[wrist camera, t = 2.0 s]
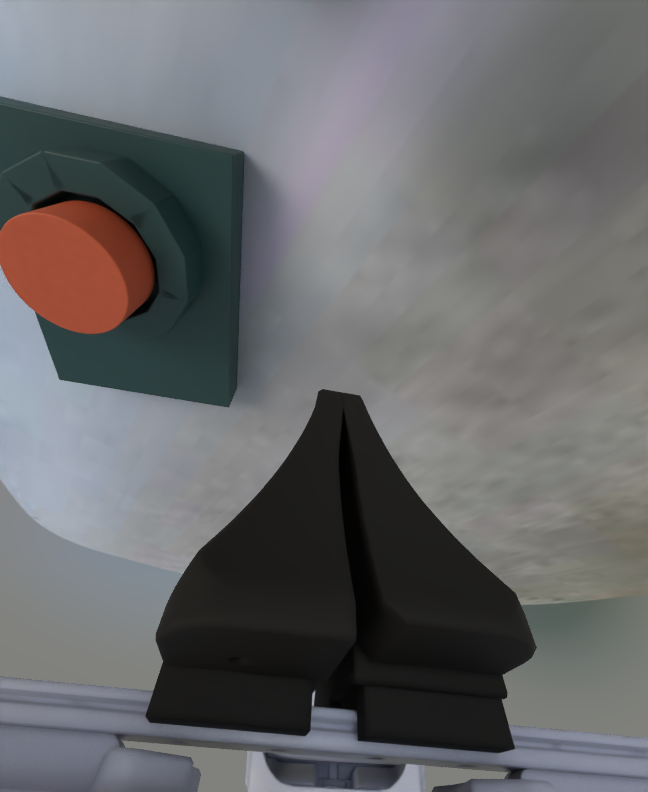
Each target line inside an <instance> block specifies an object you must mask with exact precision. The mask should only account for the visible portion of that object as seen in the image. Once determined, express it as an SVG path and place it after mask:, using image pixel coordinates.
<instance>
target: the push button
mask: <svg viewBox="0 0 648 792" xmlns="http://www.w3.org/2000/svg"><path fill="white" fill-rule="evenodd" d="M0 265H1V268H2V270H3V272H4V274H5V276H6V278H7V280H8V282H9V283H10V285H11V286H12V288H13V289H14V290H15V292H16V293H17V294H18V295H19V296H20V298H21V299H22V300H23V301H24V302H25V303H26V304H27V305H28V306H29V307H31V308H32V309H33V310H34V311H35V312H37V313H38V314H39V315H41V316H42V317H44V318H45V319H47V320H48V321H50V322H52V323H54V324H56V325H58V326H60V327H62V328H65V329H67V330H70V331H74V332H78V333H84V334H99V333H105V332H108V331H110V330H113V329H114V328H116V327H117V326H119V325H120V324H121V323H122V322H123V321H124V320H125V319H126V318H128V317H129V316H130V315H131V314H132V313H133V312H134V311H135V310H136V309H137V308H139V307H140V306H141V305H142V304H143V303H144V302H145V301H146V300H147V299H148V298H149V296H150V295H151V292H152V290H153V286H154V280H155V274H154V266H153V262H152V259H151V256H150V254H149V251H148V249H147V247H146V246H145V244H144V242H143V241H142V239H141V238H140V236H139V235H138V234H137V233H136V231H135V230H134V229H133V228H132V227H131V226H130V225H129V224H128V223H127V222H126V221H125V220H123V219H122V218H121V217H120V216H118V215H117V214H115V213H114V212H112V211H110V210H108V209H107V208H105V207H103V206H100V205H98V204H95V203H91V202H88V201H81V200H71V201H65V202H62V203H58V204H55V205H51V206H47V207H44V208H40V209H37V210H33V211H29V212H26V213H22V214H19V215H17V216H14V217H13V218H11V219H10V220H8V221H7V222H6V224H5V225H4V226H3V228H2V229H1V231H0Z"/></svg>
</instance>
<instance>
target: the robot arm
mask: <svg viewBox="0 0 648 792" xmlns="http://www.w3.org/2000/svg"><path fill="white" fill-rule="evenodd" d="M156 642H157V645H158V648H159V651H160V653H161V656H162V659H163V664H162V667H161V670H160V673H159V676H158V679H157V682H156V685H155V688H154V691H147V690H137V689H126V688H116V687H104V686H94V685H84V684H74V683H63V682H53V681H42V680H32V679H21V678H11V677H0V792H197V790H198V785H199V781H200V776H201V773H200V771H199V769H197V768H195V767H193V764H194V763H193V761H192V759H191V757H185V756H179V755H173V754H167V753H161V752H154V751H148V750H142V749H134V748H125V746H124V744H123V742H122V741H121V740H123V741H136V742H148V743H160V744H172V745H185V746H196V747H208V748H220V749H233V750H245V751H248V754H247V767H246V778H245V785H246V787H247V789H248V792H426V788H425V774H424V765H426V766H437V767H450V768H462V769H473V770H486V771H498V772H509V773H508V774H507V775H506V776H505V779H471V780H469V781H467V782H465V783H461V784H456V785H447V786H437V787H434V788H433V790H432V792H648V738H642V737H631V736H621V735H611V734H600V733H590V732H579V731H568V730H558V729H547V728H537V727H526V726H516V725H508V721H507V717H506V714H505V711H504V707H503V703H502V699H505V698H507V690H506V686H505V683H504V680H503V676H502V675H503V674H505V673H506V672H508V671H510V670H512V669H514V668H516V667H518V666H520V665H522V664H523V663H525V662H526V661H528V660H529V659H530V658H532V656H533V654H534V652H535V650H536V648H537V647H536V645H535V643H534V639H533V637H532V634H531V631H530V628H529V625H528V622H527V619H526V617H525V614H524V611H523V609H522V607H521V605H520V602H519V600H518V598H517V596H516V593H514V592H513V591H512V590H511V589H510V588H509V587H508V586H507V585H505V584H504V583H503V582H502V581H501V580H500V579H499V578H498V577H496V576H495V575H494V574H493V573H492V572H491V571H490V570H489V569H487V568H486V567H485V566H484V565H483V564H482V563H481V562H480V561H478V560H477V559H476V558H475V557H474V556H473V555H472V554H471V553H470V552H469V551H468V550H467V549H466V548H465V547H464V546H463V545H462V544H461V543H460V542H459V541H458V540H457V539H456V538H455V537H454V536H453V535H452V534H451V533H450V532H449V531H448V529H447V528H446V527H445V526H444V525H443V524H442V523H441V522H440V520H439V519H438V518H437V517H436V516H435V515H434V514H433V513H432V511H431V510H430V509H429V508H428V507H427V506H426V505H425V503H424V502H423V501H422V500H421V498H420V497H419V496H418V495H417V493H416V492H415V491H414V489H413V488H412V486H411V485H410V484H409V482H408V481H407V480H406V478H405V477H404V475H403V474H402V472H401V471H400V469H399V468H398V466H397V465H396V463H395V461H394V460H393V458H392V457H391V455H390V453H389V452H388V450H387V448H386V446H385V445H384V443H383V441H382V439H381V437H380V436H379V434H378V432H377V430H376V428H375V426H374V424H373V422H372V420H371V418H370V416H369V414H368V411H367V409H366V407H365V405H364V402H363V400H362V398H361V397H360V396H359V395H353V394H348V393H342V392H336V391H330V390H324V389H322V390H320V391H319V392H318V396H317V401H316V405H315V408H314V411H313V413H312V416H311V418H310V420H309V422H308V424H307V426H306V428H305V429H304V431H303V433H302V435H301V436H300V438H299V440H298V441H297V443H296V445H295V446H294V448H293V449H292V451H291V452H290V454H289V455H288V457H287V458H286V460H285V461H284V462H283V464H282V465H281V466H280V468H279V469H278V470H277V472H276V473H275V474H274V475H273V477H272V478H271V479H270V480H269V481H268V483H267V484H266V485H265V486H264V488H263V489H262V490H261V491H260V492H259V493H258V494H257V495H256V497H255V498H254V499H253V500H252V501H251V502H250V503H249V504H248V505H247V506H246V507H245V508H244V509H243V510H242V511H241V512H240V513H239V514H238V515H237V516H236V517H235V518H234V519H233V520H232V521H231V522H230V523H229V524H228V525H227V526H226V527H225V528H224V529H223V530H221V531H220V532H219V533H218V534H217V535H216V536H215V537H214V538H212V539H211V540H210V541H209V542H208V543H207V544H206V545H205V546H203V547H202V548H201V549H200V550H199V551H198V552H197V554H196V555H195V557H194V558H193V560H192V561H191V563H190V564H189V566H188V567H187V569H186V570H185V572H184V573H183V575H182V577H181V578H180V580H179V582H178V583H177V585H176V587H175V589H174V590H173V592H172V594H171V596H170V599H169V600H168V603H167V605H166V607H165V610H164V613H163V616H162V618H161V621H160V624H159V627H158V630H157V632H156Z"/></svg>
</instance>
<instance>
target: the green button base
mask: <svg viewBox="0 0 648 792" xmlns="http://www.w3.org/2000/svg"><path fill="white" fill-rule="evenodd" d="M243 180H244V152H243V151H239V150H235V149H230V148H226V147H222V146H217V145H213V144H208V143H204V142H199V141H195V140H190V139H186V138H182V137H177V136H173V135H168V134H164V133H159V132H155V131H151V130H146V129H142V128H137V127H133V126H128V125H124V124H119V123H115V122H111V121H106V120H102V119H97V118H93V117H88V116H84V115H79V114H75V113H71V112H66V111H62V110H57V109H53V108H48V107H44V106H39V105H35V104H31V103H26V102H22V101H17V100H13V99H8V98H4V97H0V231H1V229H2V228H3V226H4V225H5V224H6V222H7V221H8V220H10V219H11V218H13V217H14V216H17V215H19V214H22V213H26V212H29V211H33V210H37V209H40V208H44V207H47V206H51V205H55V204H58V203H62V202H65V201H71V200H81V201H88V202H91V203H95V204H98V205H100V206H103V207H105V208H107V209H108V210H110V211H112V212H114V213H115V214H117V215H118V216H120V217H121V218H122V219H123V220H125V221H126V222H127V223H128V224H129V225H130V226H131V227H132V228H133V229H134V230H135V231H136V233H137V234H138V235H139V236H140V238H141V239H142V241H143V242H144V244H145V246H146V247H147V249H148V251H149V254H150V256H151V259H152V262H153V266H154V274H155V280H154V286H153V290H152V292H151V295H150V296H149V298H148V299H147V300H146V301H145V302H144V303H143V304H142V305H141V306H140V307H139V308H137V309H136V310H135V311H134V312H133V313H132V314H131V315H130V316H129V317H128V318H126V319H125V320H124V321H123V322H122V323H121V324H120V325H119V326H117V327H116V328H114V329H113V330H110V331H108V332H105V333H99V334H84V333H78V332H74V331H70V330H67V329H65V328H62V327H60V326H58V325H56V324H54V323H52V322H50V321H48V320H47V319H45V318H44V317H42V316H41V315H39V314H38V313H37V312H35V313H36V316H37V319H38V322H39V324H40V327H41V330H42V333H43V335H44V338H45V341H46V344H47V346H48V349H49V352H50V355H51V357H52V360H53V363H54V366H55V368H56V371H57V374H58V377H59V379H60V380H65V381H71V382H77V383H83V384H89V385H95V386H101V387H108V388H114V389H120V390H126V391H132V392H138V393H144V394H150V395H156V396H163V397H169V398H175V399H181V400H187V401H193V402H199V403H205V404H211V405H217V406H224V407H229V406H230V403H231V401H232V398H233V396H234V393H235V391H236V388H237V361H238V331H239V301H240V270H241V240H242V210H243Z"/></svg>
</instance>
